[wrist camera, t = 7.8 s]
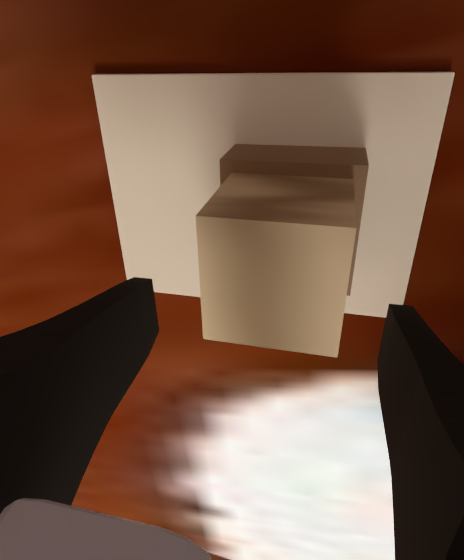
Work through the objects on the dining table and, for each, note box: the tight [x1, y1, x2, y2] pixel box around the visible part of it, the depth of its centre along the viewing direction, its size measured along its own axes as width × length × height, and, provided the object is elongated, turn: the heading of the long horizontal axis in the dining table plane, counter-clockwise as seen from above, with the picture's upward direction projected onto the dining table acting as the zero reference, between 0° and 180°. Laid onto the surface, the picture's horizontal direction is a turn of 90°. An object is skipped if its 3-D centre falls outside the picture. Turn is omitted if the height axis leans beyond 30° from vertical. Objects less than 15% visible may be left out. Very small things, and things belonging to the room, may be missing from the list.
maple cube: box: [196, 173, 357, 357], centre depth 16 cm, size 5×5×5 cm
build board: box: [92, 72, 455, 318], centre depth 20 cm, size 16×12×4 cm
